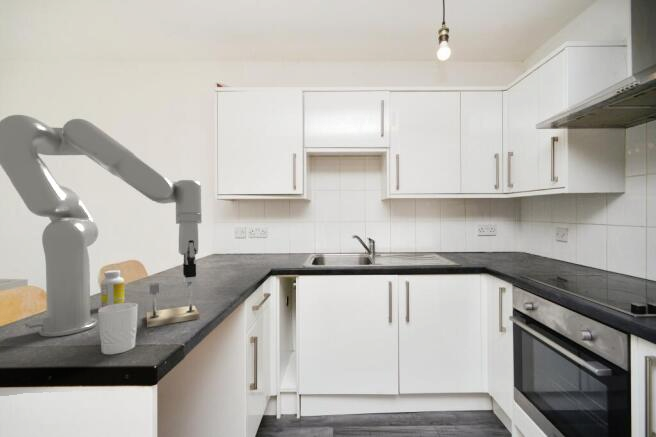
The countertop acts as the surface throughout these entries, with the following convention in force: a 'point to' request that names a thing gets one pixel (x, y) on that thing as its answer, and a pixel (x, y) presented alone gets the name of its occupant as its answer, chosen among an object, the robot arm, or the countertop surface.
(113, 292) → the supplement bottle
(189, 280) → the slider block
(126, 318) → the white cup
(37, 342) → the countertop surface
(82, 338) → the countertop surface
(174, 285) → the divider frame
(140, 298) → the countertop surface
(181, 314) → the hole plate
